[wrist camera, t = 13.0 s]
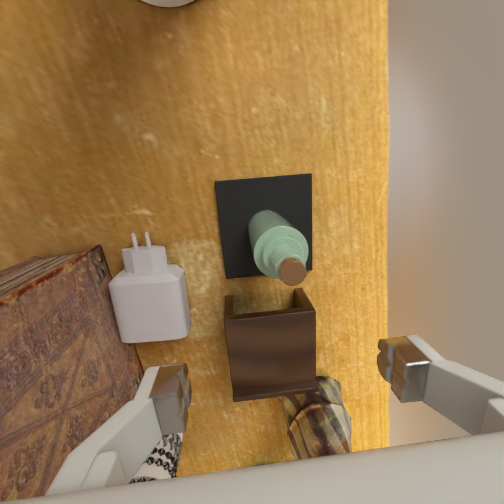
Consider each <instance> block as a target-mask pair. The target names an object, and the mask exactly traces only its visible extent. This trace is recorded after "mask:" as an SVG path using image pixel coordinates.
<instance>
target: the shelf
mask: <svg viewBox="0 0 504 504" xmlns="http://www.w3.org/2000/svg"><path fill="white" fill-rule="evenodd" d="M224 326H225V334H226V341H227V349H228V357H229V365H230V373H231V381H232V388H233V402H240V401H248V400H256V399H264V398H272V397H280V396H289V395H297V394H305V393H313V392H319V386H318V384H317V381H316V311H315V309H314V308H313V306H312V304H311V302H310V301H309V299H308V297H307V296H306V294H305V292H304V291H303V289H302V288H297V289H295V309H286V310H277V311H267V312H258V313H249V314H239V315H235V308H234V300H233V295H229V296H225V310H224Z"/></svg>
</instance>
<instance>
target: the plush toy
mask: <svg viewBox="0 0 504 504" xmlns="http://www.w3.org/2000/svg"><path fill="white" fill-rule="evenodd" d="M316 381H317V384H318V386H319V392H313V393H305V394H297V395H289V396H280V397H278V398H279V400H280V401H281V402H282V404H283V411H284V415H285V420H286V423H287V427H288V432H287V441H288V443H289V446H290V448H291V451H292V453H293V455H294V457H295V458H296V459H297V460H301V459H308V458H315V457H322V456H329V455H336V454H343V453H350V452H352V448H351V417H350V416H349V414H348V413H347V411H346V410H345V408H344V405H343V401H342V396H341V385H340V383H339V382H338V381H336V380H333V379H332V378H330V377H321V376H319V377H316Z"/></svg>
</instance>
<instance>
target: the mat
mask: <svg viewBox="0 0 504 504" xmlns="http://www.w3.org/2000/svg"><path fill="white" fill-rule="evenodd" d="M215 187H216V196H217V204H218V213H219V221H220V230H221V238H222V247H223V255H224V264H225V272H226V279H230V278H240V277H250V276H260V275H265V274H263V273H262V272H261V271H260V270H259V269H258V267H257V265H256V263H255V260H254V256H253V252H252V248H251V244H250V240H249V236H248V225H249V222H250V220H251V219H252V217H253V216H254V215H255V214H257V213H259V212H261V211H264V210H272V211H275V212H277V213H279V214H280V215H281V216H283V217H284V218H285V219H286V220H287V221H288V222H289V223H290V224H291V225H293V226H294V227H295V228H296V229H297V230H298V231H299V232H300V233H301V234H302V235H303V236H304V237H305V239H306V241H307V244H308V258H307V261H306V263H305V265H306V271H310V270H312V174H299V175H287V176H275V177H263V178H251V179H239V180H227V181H216V182H215Z"/></svg>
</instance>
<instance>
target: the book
mask: <svg viewBox="0 0 504 504" xmlns="http://www.w3.org/2000/svg"><path fill="white" fill-rule="evenodd" d="M111 280H112V277H111V274H110V271H109V268H108V265H107V262H106V259H105V256H104V253H103V250H102V247H101V245H95V246H93V247H91V248H90V249H88V250H86V251H84V252H82V253H76V254H70V255H64V256H57V257H51V258H45V259H39V257H37V256H34V257H31V258H29V259H27V260H24V261H22V262H20V263H17V264H15V265H13V266H10V267H8V268H6V269H3V270H1V271H0V502H5V501H12V500H19V499H26V498H33V497H40V496H45V494H46V492H47V491H48V489H49V487H50V485H51V484H52V482H53V480H54V478H55V477H56V475H57V473H58V471H59V470H60V468H61V466H62V464H63V463H64V461H65V459H66V457H67V456H68V454H69V453H71V452H72V451H73V450H74V449H75V448H76V447H77V446H79V445H80V444H81V443H82V442H83V441H84V440H85V439H87V438H88V437H89V436H90V435H91V434H92V433H93V432H94V431H96V430H97V429H98V428H99V427H100V426H101V425H102V424H104V423H105V422H106V421H107V420H108V419H109V418H110V417H112V416H113V415H114V414H115V413H116V412H117V411H118V410H120V409H121V408H122V407H123V406H124V405H125V404H126V403H128V402H129V401H132V400H134V397H135V395H136V393H137V390H138V388H139V386H140V383H141V381H142V378H143V376H144V372H143V369H142V366H141V363H140V360H139V357H138V354H137V351H136V348H135V345H134V343H123V342H122V341H121V337H120V333H119V328H118V324H117V320H116V315H115V311H114V307H113V303H112V298H111V294H110V290H109V285H108V284H109V283H110V282H111Z"/></svg>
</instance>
